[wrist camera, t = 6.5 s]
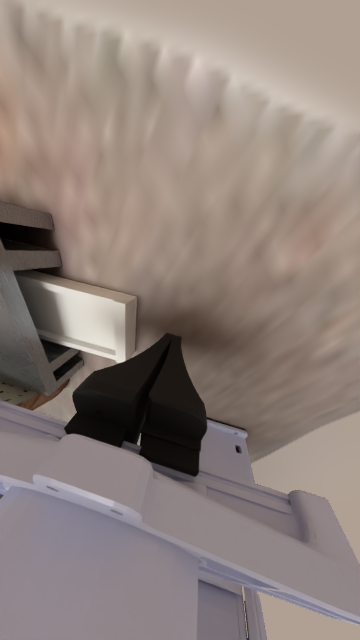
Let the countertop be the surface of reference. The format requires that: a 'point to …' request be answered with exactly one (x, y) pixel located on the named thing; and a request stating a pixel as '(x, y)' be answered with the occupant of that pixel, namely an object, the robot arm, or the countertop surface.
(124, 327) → the tray
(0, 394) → the food container
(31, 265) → the shelf
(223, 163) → the countertop surface
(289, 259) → the countertop surface
